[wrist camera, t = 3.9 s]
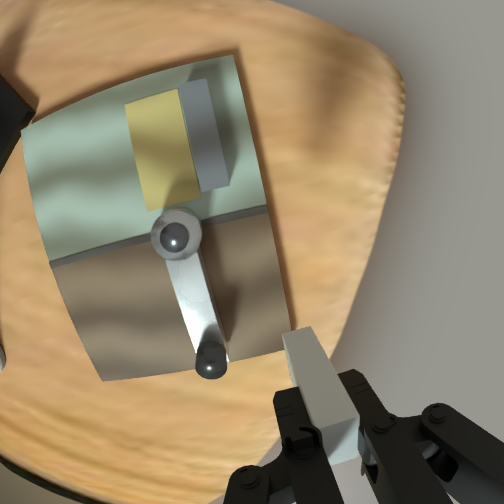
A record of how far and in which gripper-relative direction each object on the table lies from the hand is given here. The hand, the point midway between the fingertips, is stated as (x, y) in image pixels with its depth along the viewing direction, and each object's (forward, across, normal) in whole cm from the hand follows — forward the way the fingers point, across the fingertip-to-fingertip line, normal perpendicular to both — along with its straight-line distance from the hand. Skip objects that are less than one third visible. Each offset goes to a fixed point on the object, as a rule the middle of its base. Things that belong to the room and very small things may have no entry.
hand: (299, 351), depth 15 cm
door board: (+12, -9, +6) cm, 16 cm away
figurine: (+12, -25, +22) cm, 35 cm away
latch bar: (+10, -6, +1) cm, 12 cm away
